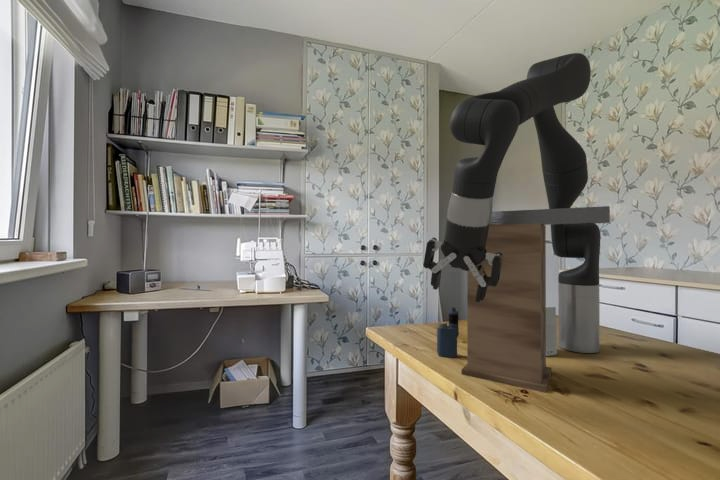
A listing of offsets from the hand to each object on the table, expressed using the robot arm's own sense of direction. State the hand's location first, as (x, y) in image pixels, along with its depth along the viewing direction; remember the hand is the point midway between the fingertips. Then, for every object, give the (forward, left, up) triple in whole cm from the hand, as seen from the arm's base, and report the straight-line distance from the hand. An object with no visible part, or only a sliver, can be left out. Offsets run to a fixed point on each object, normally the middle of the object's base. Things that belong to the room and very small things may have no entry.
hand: (456, 293), depth 69 cm
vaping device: (-15, -7, -18) cm, 25 cm away
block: (-11, +13, +14) cm, 22 cm away
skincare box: (-31, +12, -18) cm, 38 cm away
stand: (-11, +7, -18) cm, 23 cm away
